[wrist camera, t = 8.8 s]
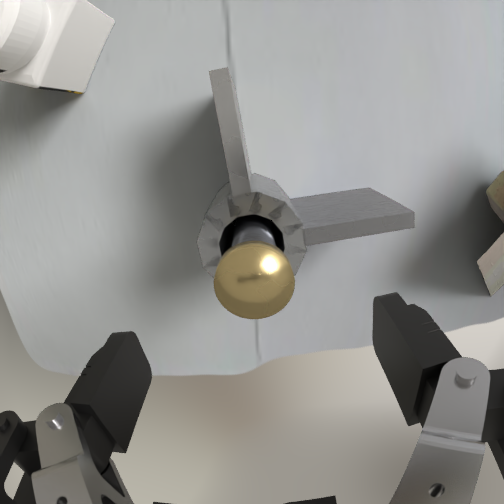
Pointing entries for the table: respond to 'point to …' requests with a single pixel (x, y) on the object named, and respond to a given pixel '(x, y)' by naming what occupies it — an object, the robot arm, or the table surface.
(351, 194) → the hinge
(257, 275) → the pin
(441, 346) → the robot arm
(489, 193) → the beige folded piece
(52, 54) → the medicine bottle
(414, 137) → the table surface
